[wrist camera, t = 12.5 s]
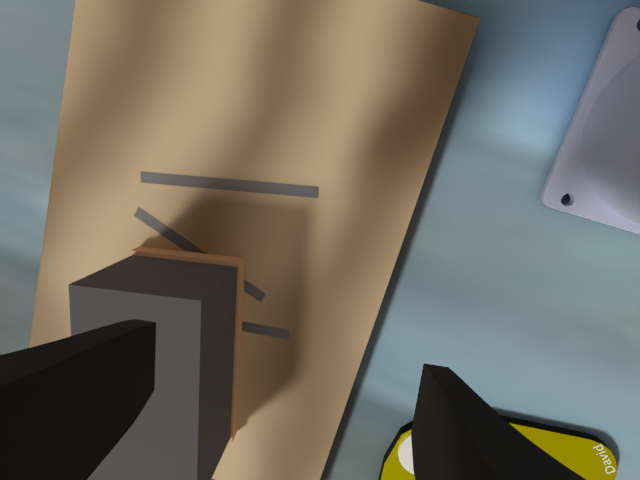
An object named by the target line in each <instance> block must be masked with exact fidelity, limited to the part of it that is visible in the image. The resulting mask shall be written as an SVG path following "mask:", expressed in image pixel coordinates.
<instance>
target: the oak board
mask: <svg viewBox="0 0 640 480" xmlns="http://www.w3.org/2000/svg"><path fill="white" fill-rule="evenodd" d="M480 19H481V18H479V17H475V16H472V15H468V14H465V13H461V12H458V11H454V10H451V9H447V8H444V7H440V6H436V5H433V4H429V3H426V2H422V1H419V0H76V3H75V10H74V18H73V25H72V32H71V40H70V47H69V55H68V62H67V69H66V77H65V84H64V92H63V99H62V106H61V114H60V121H59V129H58V136H57V143H56V151H55V158H54V166H53V173H52V180H51V188H50V195H49V203H48V210H47V217H46V225H45V232H44V240H43V247H42V254H41V262H40V269H39V277H38V284H37V292H36V299H35V306H34V314H33V321H32V329H31V336H30V343H29V348H31V347H34V346H38V345H42V344H45V343H49V342H53V341H56V340H60V339H63V338H67V337H70V336H71V325H70V305H69V284H71V283H73V282H75V281H77V280H80V279H82V278H84V277H86V276H88V275H90V274H92V273H95V272H97V271H99V270H101V269H103V268H105V267H108V266H110V265H112V264H114V263H116V262H118V261H121V260H123V259H125V258H127V257H129V256H130V250H132V249H135V248H137V247H139V246H142V247H151V248H160V249H169V250H178V251H187V252H196V253H205V254H214V255H223V256H232V257H241V258H245V273H244V294H243V316H242V337H241V358H240V380H239V401H238V422H237V433H236V435H235V437H234V439H233V441H232V442H228V444H227V446H226V448H225V451H224V453H223V455H222V457H221V459H220V461H219V463H218V466H217V468H216V470H215V472H214V474H213V476H212V479H215V480H320V478H321V475H322V472H323V469H324V467H325V464H326V461H327V458H328V455H329V452H330V449H331V446H332V444H333V441H334V438H335V435H336V432H337V429H338V426H339V424H340V421H341V418H342V415H343V412H344V409H345V406H346V403H347V401H348V398H349V395H350V392H351V389H352V386H353V383H354V380H355V378H356V375H357V372H358V369H359V366H360V363H361V360H362V358H363V355H364V352H365V349H366V346H367V343H368V340H369V337H370V335H371V332H372V329H373V326H374V323H375V320H376V317H377V314H378V312H379V309H380V306H381V303H382V300H383V297H384V294H385V291H386V289H387V286H388V283H389V280H390V277H391V274H392V271H393V269H394V266H395V263H396V260H397V257H398V254H399V251H400V248H401V246H402V243H403V240H404V237H405V234H406V231H407V228H408V225H409V223H410V220H411V217H412V214H413V211H414V208H415V205H416V202H417V200H418V197H419V194H420V191H421V188H422V185H423V182H424V180H425V177H426V174H427V171H428V168H429V165H430V162H431V159H432V157H433V154H434V151H435V148H436V145H437V142H438V139H439V136H440V134H441V131H442V128H443V125H444V122H445V119H446V116H447V113H448V111H449V108H450V105H451V102H452V99H453V96H454V93H455V91H456V88H457V85H458V82H459V79H460V76H461V73H462V70H463V68H464V65H465V62H466V59H467V56H468V53H469V50H470V47H471V45H472V42H473V39H474V36H475V33H476V30H477V27H478V24H479V22H480Z"/></svg>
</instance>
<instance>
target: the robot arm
mask: <svg viewBox="0 0 640 480" xmlns="http://www.w3.org/2000/svg"><path fill="white" fill-rule="evenodd" d="M639 20H640V8H637V7H629V8H626V9H624V10H622V11H621V12H619V13H618V14H617V15H616V16H615V18H614V19H613V21H612V24H611V26H610V29H609V31H608V33H607V36H606V38H605V41H604V43H603V45H602V48H601V50H600V53H599V55H598V57H597V60H596V62H595V64H594V67H593V69H592V72H591V74H590V76H589V79H588V81H587V84H586V86H585V88H584V91H583V93H582V96H581V98H580V100H579V103H578V105H577V108H576V110H575V112H574V115H573V117H572V119H571V122H570V124H569V127H568V129H567V131H566V134H565V136H564V139H563V141H562V143H561V146H560V148H559V151H558V153H557V155H556V158H555V160H554V163H553V165H552V167H551V170H550V172H549V175H548V177H547V179H546V182H545V184H544V186H543V189H542V191H541V195H540V198H541V201H542V203H543V204H544V205H546V206H548V207H550V208H554V209H557V210H560V211H564V212H567V213H570V214H574V215H577V216H580V217H584V218H587V219H590V220H594V221H597V222H600V223H604V224H607V225H610V226H614V227H617V228H621V229H624V230H627V231H631V232H634V233H637V234H640V31H639V30H638V29H637V22H638V21H639ZM565 194H569V196H570V201H569V202H568V203H567V204H565V205H563V204H562V203H561V198H562V197H563V195H565ZM155 350H156V322H151V321H145V320H138V319H132V320H126V321H122V322H118V323H114V324H110V325H107V326H103V327H100V328H96V329H93V330H90V331H87V332H83V333H80V334H77V335H73V336H70V337H67V338H63V339H60V340H56V341H53V342H49V343H45V344H42V345H38V346H34V347H31V348H27V349H24V350H20V351H16V352H12V353H8V354H4V355H0V480H87V479H88V478H89V477H90V475H91V474H92V473H93V472H94V471H95V469H96V468H97V467H98V466H99V465H100V463H101V462H102V461H103V460H104V459H105V457H106V456H107V455H108V454H109V453H110V451H111V450H112V449H113V448H114V447H115V445H116V444H117V443H118V442H119V440H120V439H121V438H122V437H123V436H124V434H125V433H126V432H127V431H128V429H129V428H130V427H131V426H132V424H133V423H134V422H135V420H136V419H137V417H138V416H139V414H140V413H141V411H142V410H143V408H144V406H145V405H146V403H147V401H148V400H149V398H150V396H151V395H152V393H153V391H154V387H155ZM411 440H412V457H413V470H414V476H415V480H586V479H584V478H583V477H581V476H580V475H578V474H577V473H575V472H574V471H572V470H571V469H569V468H568V467H566V466H565V465H563V464H562V463H560V462H559V461H558V460H556V459H555V458H553V457H552V456H551V455H549V454H548V453H546V452H545V451H543V450H542V449H541V448H539V447H538V446H537V445H535V444H534V443H533V442H531V441H530V440H529V439H528V438H526V437H525V436H524V435H523V434H522V433H520V432H519V431H518V430H517V429H515V428H514V427H513V426H512V425H511V424H509V423H508V422H507V421H506V420H505V419H504V418H502V417H501V416H500V415H499V414H498V413H497V412H496V411H495V410H493V409H492V408H491V407H490V406H489V405H488V404H487V403H486V402H485V401H484V400H483V399H482V398H481V397H479V396H478V395H477V394H476V393H475V392H474V391H473V390H472V389H471V388H470V387H469V386H468V385H467V384H466V383H465V382H464V381H463V380H462V379H461V378H460V377H459V376H457V375H456V374H455V373H454V372H453V371H452V370H451V369H449V368H448V367H443V366H436V365H430V364H424V365H423V371H422V376H421V382H420V387H419V393H418V398H417V403H416V409H415V414H414V420H413V425H412V430H411Z"/></svg>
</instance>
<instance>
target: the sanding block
mask: <svg viewBox="0 0 640 480" xmlns="http://www.w3.org/2000/svg"><path fill="white" fill-rule="evenodd" d="M244 273H245V258H241V257H232V256H223V255H214V254H205V253H196V252H187V251H178V250H169V249H160V248H151V247H142V246H139V247H137V248H135V249H132V250H130V256H129V257H127V258H125V259H123V260H121V261H118V262H116V263H114V264H112V265H110V266H108V267H105V268H103V269H101V270H99V271H97V272H95V273H92V274H90V275H88V276H86V277H84V278H82V279H80V280H77V281H75V282H73V283H71V284H69V305H70V325H71V336H73V335H77V334H80V333H83V332H87V331H90V330H93V329H96V328H100V327H103V326H107V325H110V324H114V323H118V322H122V321H126V320H132V319H138V320H145V321H151V322H156V350H155V387H154V391H153V393H152V395H151V396H150V398H149V400H148V401H147V403H146V405H145V406H144V408H143V410H142V411H141V413H140V414H139V416H138V417H137V419H136V420H135V422H134V423H133V424H132V426H131V427H130V428H129V429H128V431H127V432H126V433H125V434H124V436H123V437H122V438H121V439H120V440H119V442H118V443H117V444H116V445H115V447H114V448H113V449H112V450H111V451H110V453H109V454H108V455H107V456H106V457H105V459H104V460H103V461H102V462H101V463H100V465H99V466H98V467H97V468H96V469H95V471H94V472H93V473H92V474H91V475H90V477H89V478H88V479H87V480H211V478H212V476H213V474H214V472H215V470H216V468H217V466H218V463H219V461H220V459H221V457H222V455H223V453H224V451H225V448H226V446H227V444H228V442H232V441H233V439H234V437H235V435H236V433H237V422H238V401H239V380H240V358H241V337H242V316H243V294H244Z"/></svg>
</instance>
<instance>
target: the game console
mask: <svg viewBox="0 0 640 480" xmlns="http://www.w3.org/2000/svg"><path fill="white" fill-rule="evenodd" d="M500 416H501V415H500ZM501 417H502V418H504V419H505V420H506V421H507V422H508V423H509V424H511V425H512V426H513V427H514V428H515V429H517V430H518V431H519V432H520V433H522V434H523V435H524V436H525V437H526V438H528V439H529V440H530V441H531V442H533V443H534V444H535V445H537V446H538V447H539V448H541V449H542V450H543V451H545V452H546V453H548V454H549V455H551V456H552V457H553V458H555V459H556V460H558V461H559V462H560V463H562V464H563V465H565V466H566V467H568V468H569V469H571V470H572V471H574V472H575V473H577V474H578V475H580V476H581V477H583V478H584V479H586V480H615V477H616V470H617V464H616V460H615V457H614V455H613V454H612V452H611V451H610V449H609V448H608V447H607V446H606V444H605V443H604V442H603V441H601V440H600V439H599V438H597V437H596V436H593V435H590V434H587V433H583V432H578V431H574V430H569V429H564V428H559V427H554V426H550V425H545V424H540V423H535V422H530V421H526V420H521V419H516V418H511V417H506V416H501ZM412 425H413V421H412V422H410V423H408V424H407V425H405V426H403V427H401V428H400V430H399V431H398V433H397V435H396V436H395V438H394V440H393V442H392V443H391V445H390V447H389V448H388V450H387V452H386V453H385V455H384V458H383V463H382V467H381V471H380V475H379V480H415V476H414V470H413V457H412V440H411V430H412Z"/></svg>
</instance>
